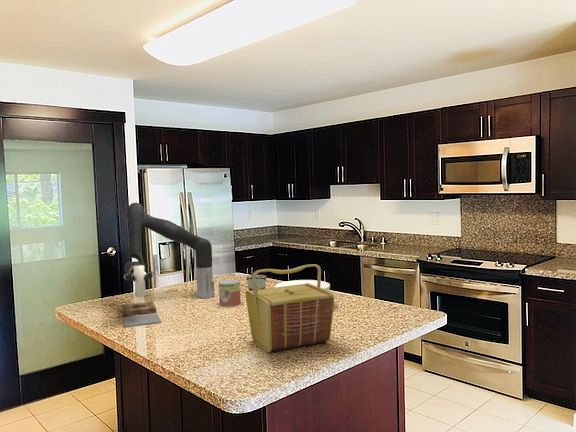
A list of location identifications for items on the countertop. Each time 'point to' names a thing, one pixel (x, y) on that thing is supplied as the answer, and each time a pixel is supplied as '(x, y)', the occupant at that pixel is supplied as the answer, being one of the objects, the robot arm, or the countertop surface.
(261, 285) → the food container
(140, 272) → the cream cylinder
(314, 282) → the plate stack
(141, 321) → the grey mat
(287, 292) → the picnic basket
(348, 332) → the countertop surface
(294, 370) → the countertop surface
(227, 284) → the canned food
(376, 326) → the countertop surface
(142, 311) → the walnut holder
